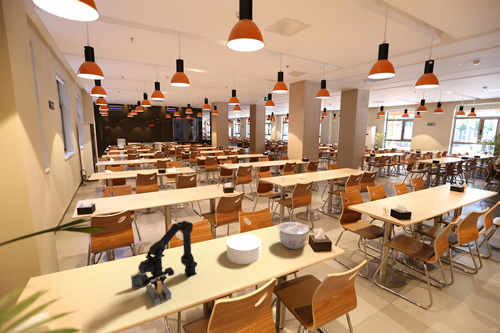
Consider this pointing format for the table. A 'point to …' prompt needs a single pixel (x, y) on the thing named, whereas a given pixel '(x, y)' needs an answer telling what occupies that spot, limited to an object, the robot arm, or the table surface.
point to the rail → (157, 297)
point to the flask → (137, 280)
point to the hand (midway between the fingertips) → (158, 288)
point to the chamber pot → (293, 234)
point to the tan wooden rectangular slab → (159, 285)
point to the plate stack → (243, 249)
